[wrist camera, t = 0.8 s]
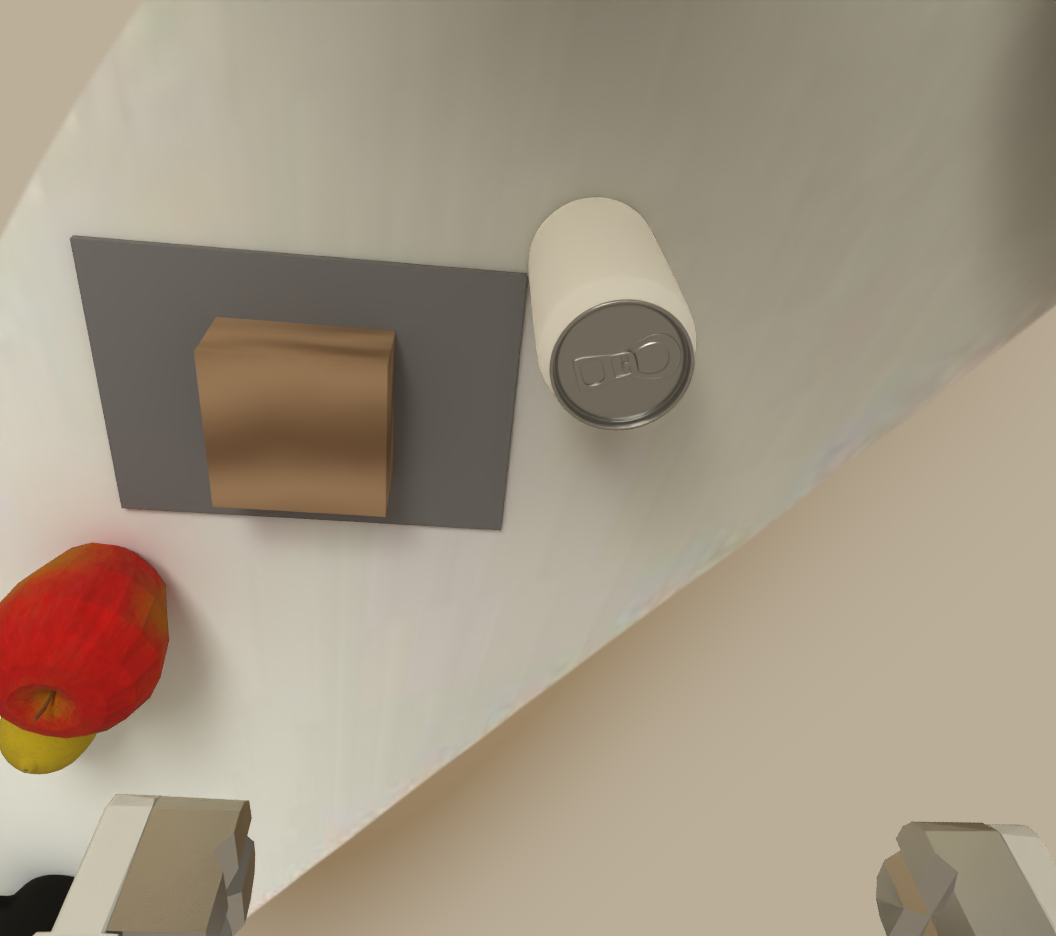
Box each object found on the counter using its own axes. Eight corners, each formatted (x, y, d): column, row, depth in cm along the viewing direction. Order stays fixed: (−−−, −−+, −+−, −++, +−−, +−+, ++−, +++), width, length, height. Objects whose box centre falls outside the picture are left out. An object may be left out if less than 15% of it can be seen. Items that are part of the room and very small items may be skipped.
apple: (21, 587, 54) (-85, 746, 44) (64, 484, 50) (-43, 633, 40) (168, 642, 57) (99, 802, 47) (220, 549, 53) (157, 703, 43)
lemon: (43, 695, 59) (-14, 797, 53) (27, 636, 56) (-36, 737, 50) (127, 699, 60) (81, 801, 53) (116, 641, 57) (66, 741, 50)
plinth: (216, 316, 44) (193, 351, 41) (395, 330, 45) (387, 365, 42) (231, 464, 49) (212, 506, 46) (392, 474, 50) (385, 516, 46)
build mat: (73, 235, 42) (69, 238, 42) (527, 273, 44) (527, 276, 43) (124, 503, 51) (121, 508, 50) (500, 526, 53) (500, 530, 52)
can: (665, 302, 45) (715, 419, 35) (543, 331, 46) (558, 455, 36) (644, 178, 41) (693, 270, 31) (513, 212, 42) (520, 312, 32)
